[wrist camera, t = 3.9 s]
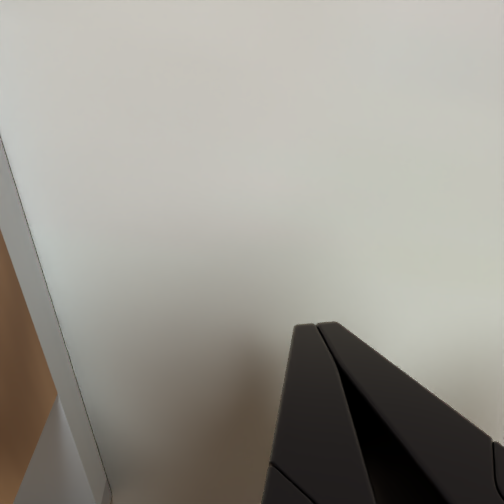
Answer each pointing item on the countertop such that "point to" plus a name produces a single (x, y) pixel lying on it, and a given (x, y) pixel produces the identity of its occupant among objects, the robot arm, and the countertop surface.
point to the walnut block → (19, 382)
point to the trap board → (68, 398)
